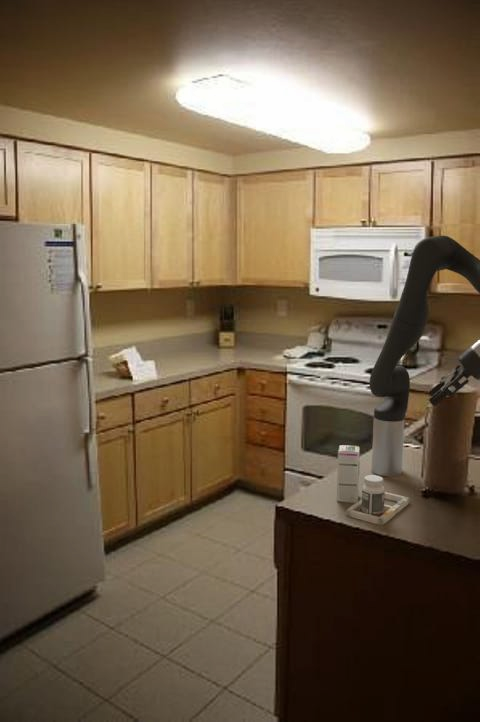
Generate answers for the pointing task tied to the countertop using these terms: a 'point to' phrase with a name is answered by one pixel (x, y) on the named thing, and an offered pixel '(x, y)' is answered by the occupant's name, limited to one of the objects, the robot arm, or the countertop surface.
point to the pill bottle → (373, 496)
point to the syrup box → (348, 473)
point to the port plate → (389, 510)
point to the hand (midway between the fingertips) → (431, 399)
